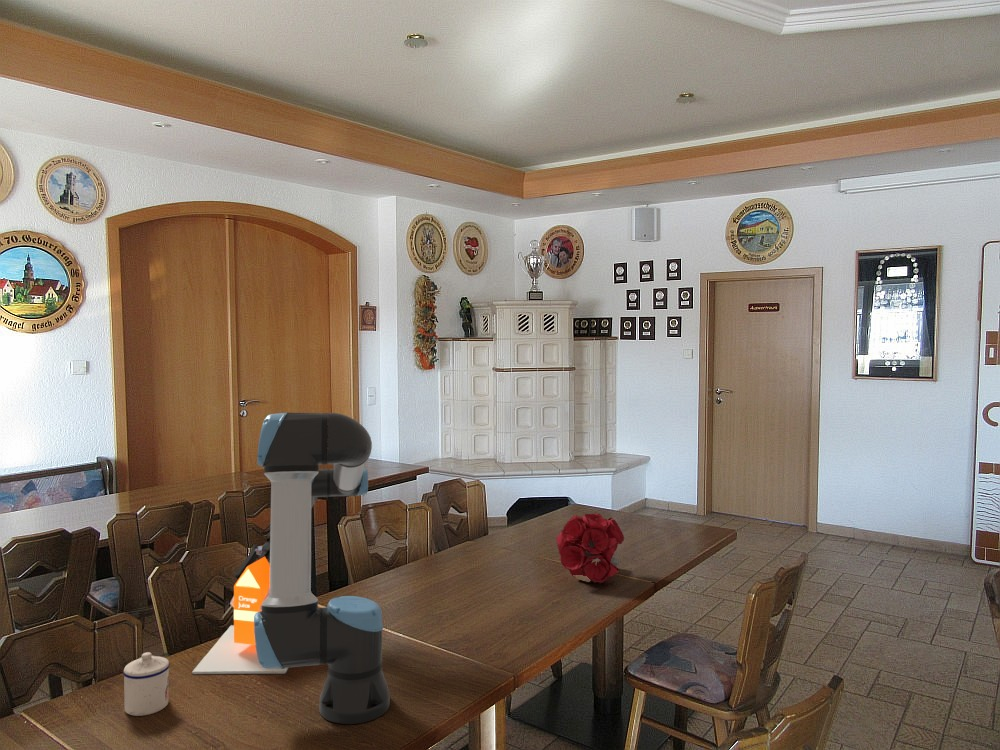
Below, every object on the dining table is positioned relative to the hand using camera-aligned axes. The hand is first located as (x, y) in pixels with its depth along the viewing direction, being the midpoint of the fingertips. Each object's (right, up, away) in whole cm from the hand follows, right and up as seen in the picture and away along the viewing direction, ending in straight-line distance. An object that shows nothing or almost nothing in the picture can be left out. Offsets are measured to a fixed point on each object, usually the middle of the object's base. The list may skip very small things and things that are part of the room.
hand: (248, 608), depth 181 cm
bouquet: (+97, -11, +63) cm, 116 cm away
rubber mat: (+1, -12, +4) cm, 12 cm away
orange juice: (+1, -9, +4) cm, 10 cm away
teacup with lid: (-14, -13, -25) cm, 31 cm away
